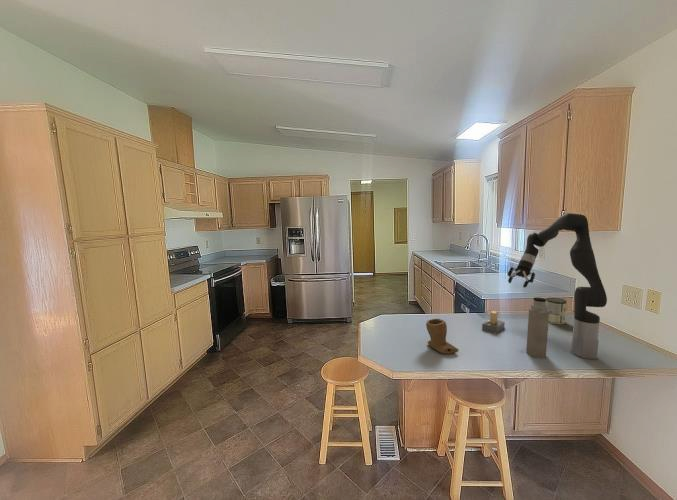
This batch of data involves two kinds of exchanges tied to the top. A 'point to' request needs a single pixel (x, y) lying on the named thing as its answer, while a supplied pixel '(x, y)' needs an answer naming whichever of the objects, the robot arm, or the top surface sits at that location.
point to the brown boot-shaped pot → (439, 336)
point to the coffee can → (556, 310)
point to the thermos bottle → (537, 328)
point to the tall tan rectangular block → (493, 317)
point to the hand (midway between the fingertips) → (516, 284)
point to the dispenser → (493, 326)
